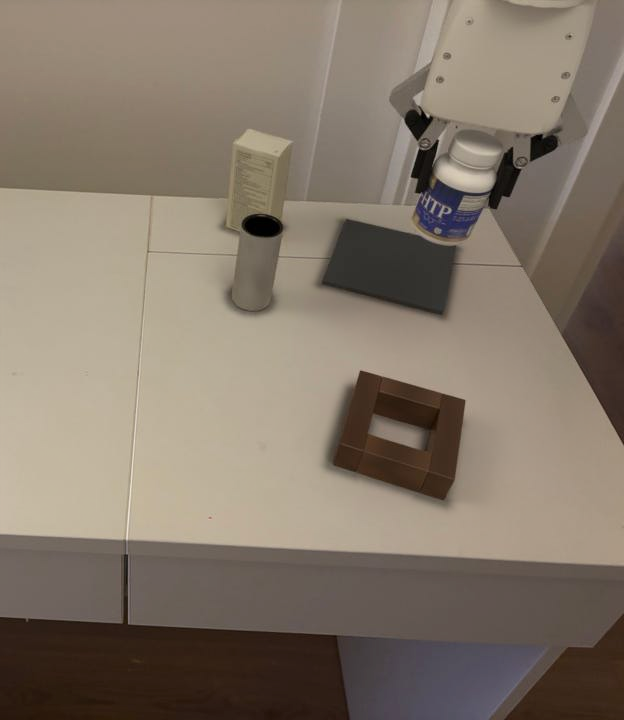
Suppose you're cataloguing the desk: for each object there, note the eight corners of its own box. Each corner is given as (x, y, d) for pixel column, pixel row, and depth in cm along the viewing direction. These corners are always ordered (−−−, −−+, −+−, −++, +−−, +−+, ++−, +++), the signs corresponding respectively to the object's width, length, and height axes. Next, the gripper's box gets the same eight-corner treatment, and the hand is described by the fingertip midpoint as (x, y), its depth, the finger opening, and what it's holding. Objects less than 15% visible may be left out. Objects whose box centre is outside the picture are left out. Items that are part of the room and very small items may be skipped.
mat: (455, 247, 95) (456, 244, 94) (442, 315, 85) (443, 311, 85) (345, 222, 98) (346, 218, 98) (321, 284, 89) (322, 280, 89)
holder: (455, 421, 74) (466, 399, 72) (443, 500, 67) (454, 479, 65) (353, 391, 77) (360, 369, 74) (332, 464, 70) (339, 443, 68)
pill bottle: (398, 217, 68) (432, 128, 62) (444, 208, 70) (482, 121, 63) (433, 252, 65) (474, 162, 58) (481, 242, 66) (525, 153, 60)
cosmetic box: (281, 226, 97) (296, 141, 89) (266, 243, 95) (280, 157, 86) (238, 211, 100) (248, 126, 91) (222, 227, 97) (232, 141, 88)
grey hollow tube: (253, 281, 89) (264, 208, 82) (278, 302, 86) (292, 228, 79) (223, 295, 87) (232, 221, 80) (248, 316, 85) (260, 242, 77)
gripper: (668, -33, 52) (561, 192, 65) (418, -64, 56) (363, 153, 69) (681, 3, 47) (562, 239, 60) (405, -34, 51) (349, 194, 64)
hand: (456, 191), depth 64 cm, fingers closed on pill bottle, 5 cm apart
